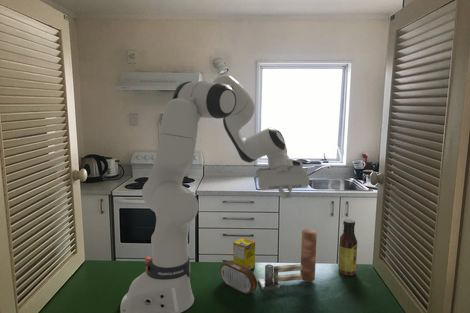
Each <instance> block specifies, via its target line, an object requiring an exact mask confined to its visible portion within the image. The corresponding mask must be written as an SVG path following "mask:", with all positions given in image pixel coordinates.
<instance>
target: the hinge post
mask: <svg viewBox="0 0 470 313" xmlns="http://www.w3.org/2000/svg"><path fill="white" fill-rule="evenodd" d="M273 273H274V265H273V264H266V265H265V266H264V277H261V278H258V279H257V283H258V284H259V286H260V289H261V291H262V292H263V291H264V292H266V291H267V292H268V291H278V290H281V285H280V284H279V283H280V282H274V280H273Z"/></svg>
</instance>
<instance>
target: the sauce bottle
mask: <svg viewBox="0 0 470 313" xmlns="http://www.w3.org/2000/svg"><path fill="white" fill-rule="evenodd" d="M355 225H356V221H355V220H354V219H344V220H343V232H342V234H341V235H340V237H339V245H338V272H339V274H341V275H343V276H348V277H350V276H354V275H355V274H356V270H357V255H358V240H357V238H356V233H355Z"/></svg>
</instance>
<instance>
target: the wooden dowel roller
mask: <svg viewBox="0 0 470 313" xmlns="http://www.w3.org/2000/svg"><path fill="white" fill-rule="evenodd" d="M317 234H318V232H317V230H315V229H310V228H305V229H302V230H301V246H300V247H301V250H300V263H298V264H297V263H296V264H285V265H276V266H275V265H273V280H274V282H278V283H281V282H291V281H303V282H309V283H311V282H313V281H315V279H316V264H317V263H316V260H317V239H318V235H317ZM297 271H300V272H299V273H291V274H290V273H289V274H279V273H284V272H286V273H287V272H297Z"/></svg>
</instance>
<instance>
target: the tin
mask: <svg viewBox="0 0 470 313" xmlns="http://www.w3.org/2000/svg"><path fill="white" fill-rule="evenodd" d="M219 271H220V277H221V279H222V281H223V283H224V284H225V285H227V287H230V288H232V289H234V290H235V291H238V292H240V293H242V294H244V295H250V294H252V293H253V292H255V291H256V289H257V287H258V279H257V277H256V276H255V274H254V272H253V270H249V269H248V268H246V267H243V266H241V265H239V264H237V263H235V262H234V260H233V261H232V260H227V261H225V262H224V263H222V264H221V266H220V269H219Z"/></svg>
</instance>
